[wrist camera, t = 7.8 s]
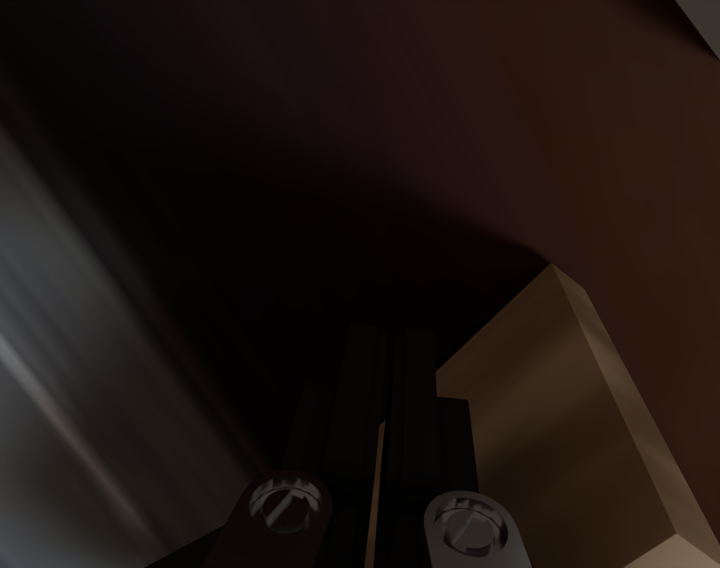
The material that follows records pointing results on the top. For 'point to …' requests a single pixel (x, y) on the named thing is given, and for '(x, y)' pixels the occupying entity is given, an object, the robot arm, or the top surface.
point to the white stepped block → (705, 20)
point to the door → (569, 440)
